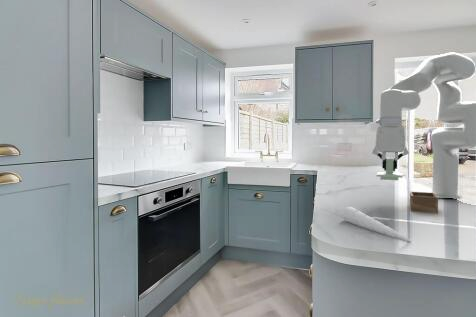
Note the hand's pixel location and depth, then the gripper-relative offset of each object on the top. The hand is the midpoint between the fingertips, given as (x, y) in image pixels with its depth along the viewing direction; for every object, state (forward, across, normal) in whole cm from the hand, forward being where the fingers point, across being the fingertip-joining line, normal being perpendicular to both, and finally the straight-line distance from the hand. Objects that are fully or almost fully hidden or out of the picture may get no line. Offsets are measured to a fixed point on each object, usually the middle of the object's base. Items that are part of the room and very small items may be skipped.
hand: (389, 170), depth 118 cm
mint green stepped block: (+3, 0, 0) cm, 3 cm away
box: (+14, +11, -3) cm, 18 cm away
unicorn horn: (+15, -3, -37) cm, 40 cm away
